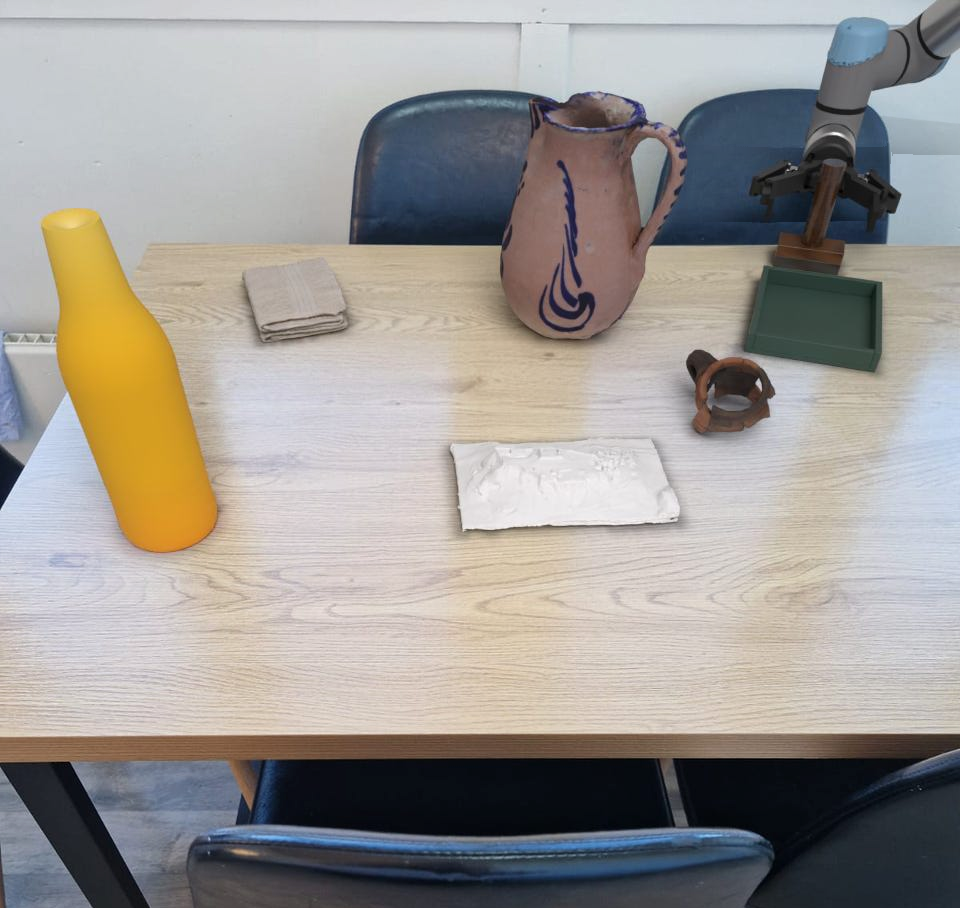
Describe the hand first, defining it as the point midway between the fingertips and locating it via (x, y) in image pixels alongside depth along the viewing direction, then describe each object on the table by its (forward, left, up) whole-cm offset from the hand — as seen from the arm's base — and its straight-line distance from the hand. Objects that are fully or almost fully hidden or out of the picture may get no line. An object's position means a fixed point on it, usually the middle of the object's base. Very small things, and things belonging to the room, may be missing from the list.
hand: (820, 215), depth 117 cm
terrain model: (+21, +58, -8) cm, 62 cm away
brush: (0, -3, -8) cm, 8 cm away
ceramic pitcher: (+27, +25, -8) cm, 38 cm away
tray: (-2, +15, -8) cm, 17 cm away
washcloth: (+64, +32, -8) cm, 72 cm away
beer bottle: (+56, +76, -8) cm, 95 cm away
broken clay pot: (+7, +40, -8) cm, 42 cm away
